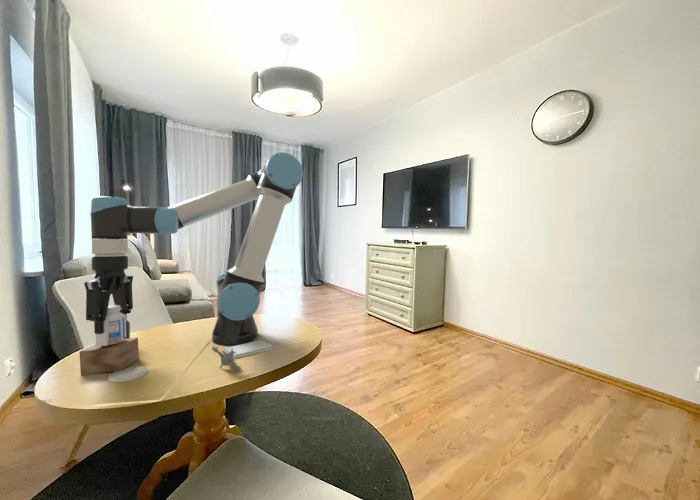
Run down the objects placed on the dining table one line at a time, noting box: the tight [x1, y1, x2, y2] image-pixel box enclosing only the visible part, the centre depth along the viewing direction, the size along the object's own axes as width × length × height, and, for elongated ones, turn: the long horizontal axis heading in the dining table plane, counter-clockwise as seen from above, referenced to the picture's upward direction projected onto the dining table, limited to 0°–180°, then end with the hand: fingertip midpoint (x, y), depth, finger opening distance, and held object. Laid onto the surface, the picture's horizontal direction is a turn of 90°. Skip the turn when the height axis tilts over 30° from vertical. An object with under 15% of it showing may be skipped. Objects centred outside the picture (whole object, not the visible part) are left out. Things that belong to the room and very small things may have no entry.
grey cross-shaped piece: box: [211, 346, 243, 373], centre depth 80 cm, size 10×6×9 cm
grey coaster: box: [107, 365, 148, 383], centre depth 75 cm, size 8×8×1 cm
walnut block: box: [78, 337, 140, 376], centre depth 80 cm, size 9×9×6 cm
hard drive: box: [223, 339, 274, 360], centre depth 94 cm, size 2×8×12 cm
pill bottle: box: [105, 304, 125, 345], centre depth 80 cm, size 6×5×10 cm
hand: (111, 341), depth 80 cm, fingers closed on pill bottle, 5 cm apart
